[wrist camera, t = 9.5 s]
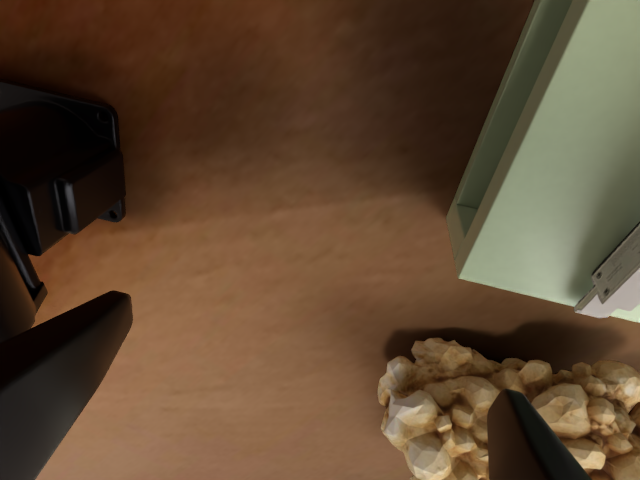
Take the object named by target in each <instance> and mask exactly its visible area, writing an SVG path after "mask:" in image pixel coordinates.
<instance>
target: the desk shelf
mask: <svg viewBox="0 0 640 480" xmlns="http://www.w3.org/2000/svg"><path fill="white" fill-rule="evenodd" d="M446 221H447V226H448V231H449V236H450V241H451V246H452V251H453V256H454V260H455V266H456V271H457V276H458V278H459V279H463V280H467V281H472V282H476V283H480V284H484V285H488V286H492V287H496V288H500V289H504V290H508V291H512V292H516V293H520V294H524V295H528V296H532V297H536V298H540V299H544V300H549V301H553V302H557V303H561V304H565V305H569V306H573V307H575V305H576V304H577V303H578V302H579V301H580V299H581V298H582V297H583V296H584V295H585V294H586V293H587V292H588V291H589V290H590V289H591V288H592V287H593V282H592V279H591V275H592V273H593V272H594V270H595V269H596V268H597V267H598V266H599V265H600V264H601V263H602V262H603V261H604V259H605V258H606V257H607V256H608V255H609V254H610V253H611V252H612V251H613V250H614V249H615V248H616V246H617V245H618V244H619V243H620V242H621V241H622V240H623V239H624V238H625V237H626V236H627V235H628V233H629V232H630V231H631V230H632V229H633V228H634V227H635V226H636V225H637V224H638V223H639V222H640V0H535V1H534V3H533V6H532V8H531V11H530V13H529V16H528V18H527V20H526V23H525V25H524V28H523V30H522V33H521V35H520V38H519V40H518V42H517V45H516V47H515V50H514V52H513V55H512V57H511V60H510V62H509V64H508V67H507V69H506V72H505V74H504V77H503V79H502V81H501V84H500V86H499V89H498V91H497V94H496V96H495V99H494V101H493V103H492V106H491V108H490V111H489V113H488V116H487V118H486V121H485V123H484V125H483V128H482V130H481V133H480V135H479V138H478V140H477V143H476V145H475V147H474V150H473V152H472V155H471V157H470V160H469V162H468V165H467V167H466V169H465V172H464V174H463V177H462V179H461V182H460V184H459V187H458V189H457V191H456V194H455V198H454V199H453V202H452V204H451V206H450V209H449V211H448V214H447V216H446ZM609 316H613V317H617V318H621V319H626V320H630V321H634V322H638V323H640V304H638V305H637V306H636V307H635V308H634V309H633V310H632V311H631V312H630V311H626V310H622V309H618V308H617V309H616V310H615V311H614V312H613V313H612V314H610V315H609Z"/></svg>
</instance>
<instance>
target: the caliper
mask: <svg viewBox="0 0 640 480" xmlns="http://www.w3.org/2000/svg"><path fill="white" fill-rule="evenodd" d="M591 279H592V282H593V287H592V288H591V289H590V290H589V291H588V292H587V293H586V294H585V295H584V296H583V297H582V298H581V299H580V301H579V302H578V303H577V304H576V305H575V307H574V311H575V312H576V313H581V314H585V315H589V316H593V317H597V318H602V317H605V318H607V317H608V316H609V315H610V314H612V313H613V312H614V311H615V310H616V309H617V308H618V309H622V310H626V311H630V312H631V311H632V310H633V309H634V308H635V307H636V306H637V305H638V304H640V222H639V223H638V224H637V225H636V226H635V227H634V228H633V229H632V230H631V231H630V232H629V233H628V235H627V236H626V237H625V238H624V239H623V240H622V241H621V242H620V243H619V244H618V245H617V246H616V248H615V249H614V250H613V251H612V252H611V253H610V254H609V255H608V256H607V257H606V258H605V259H604V261H603V262H602V263H601V264H600V265H599V266H598V267H597V268H596V269H595V270H594V272H593V273H592V275H591Z"/></svg>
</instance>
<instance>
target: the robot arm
mask: <svg viewBox="0 0 640 480" xmlns="http://www.w3.org/2000/svg"><path fill="white" fill-rule="evenodd" d="M103 112H105V113H106V114H107V116H108V119H106V118H105V117H104V115H103ZM125 195H126V191H125V179H124V166H123V155H122V152H121V150H120V139H119V127H118V116H117V113H116V111H115V110H114V108H112V107H111V106H110V105H107V104H103V103H99V102H95V101H91V100H87V99H83V98H78V97H74V96H70V95H66V94H62V93H57V92H53V91H49V90H45V89H41V88H37V87H32V86H28V85H24V84H20V83H16V82H11V81H7V80H3V79H0V480H35V479H36V478H37V476H38V475H39V473H40V472H41V470H42V469H43V467H44V466H45V464H46V463H47V462H48V460H49V459H50V457H51V456H52V454H53V453H54V451H55V450H56V448H57V447H58V445H59V444H60V443H61V441H62V440H63V438H64V437H65V435H66V434H67V432H68V431H69V429H70V428H71V426H72V425H73V424H74V422H75V421H76V419H77V418H78V416H79V415H80V413H81V412H82V410H83V409H84V407H85V406H86V405H87V403H88V402H89V400H90V399H91V397H92V396H93V394H94V393H95V391H96V390H97V388H98V387H99V385H100V383H101V382H102V380H103V378H104V376H105V375H106V373H107V371H108V369H109V367H110V365H111V364H112V362H113V360H114V358H115V356H116V354H117V352H118V350H119V349H120V347H121V345H122V343H123V341H124V339H125V337H126V336H127V334H128V332H129V330H130V328H131V325H132V321H133V315H132V304H131V297H130V295H129V294H126V293H122V292H118V291H110V292H107V293H105V294H103V295H101V296H99V297H97V298H95V299H93V300H90V301H88V302H86V303H84V304H82V305H80V306H78V307H76V308H73V309H71V310H69V311H67V312H65V313H63V314H61V315H59V316H56V317H54V318H52V319H50V320H48V321H46V322H44V323H42V324H39V325H37V326H35V327H33V328H31V327H32V325H33V324H34V322H35V315H36V313H37V311H38V309H39V307H40V306H41V304H42V302H43V300H44V299H45V297H46V295H47V293H48V292H47V289H46V287H45V285H44V283H43V282H40V280H39V278H38V276H37V274H36V271H35V269H34V267H33V265H32V263H31V260H30V258H29V256H28V254H30V255H34V256H40V255H42V254H43V253H44V252H45V251H47V250H48V249H49V248H51V247H52V246H53V245H55V244H56V243H57V242H59V241H60V240H61V239H63V238H64V237H65V236H66V235H68V234H69V233H71V234H77V233H79V232H80V231H81V230H83V229H84V228H85V227H86V226H88V225H89V224H90V223H92V222H93V221H94V220H95V219H97V218H99V219H103V220H107V221H111V222H119V221H121V220H122V219H123V218H124V217H125V214H126V212H125V200H124V197H125ZM113 211H115V212H116V213H117V215H116V214H115V213H114V212H113ZM487 438H488V466H489V480H592V479H591V478H590V476H589V475H588V474H587V473H586V471H585V470H584V469H583V468H582V466H581V465H580V464H579V463H578V461H577V460H576V459H575V458H574V456H573V455H572V454H571V453H570V451H569V450H568V449H567V448H566V446H565V445H564V444H563V443H562V441H561V440H560V439H559V438H558V436H557V435H556V434H555V433H554V431H553V430H552V429H551V428H550V426H549V425H548V424H547V423H546V421H545V420H544V419H543V418H542V416H541V415H540V414H539V413H538V411H537V410H536V409H535V408H534V406H533V405H532V404H531V403H530V401H529V400H528V399H527V398H526V396H525V395H524V394H523V393H521V392H519V391H515V390H511V389H507V388H505V389H502V390H501V391H500V393H499V394H498V396H497V397H496V399H495V400H494V402H493V403H492V405H491V406H490V408H489V410H488V413H487Z"/></svg>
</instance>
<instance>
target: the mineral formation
mask: <svg viewBox="0 0 640 480" xmlns="http://www.w3.org/2000/svg"><path fill="white" fill-rule="evenodd" d="M411 352H412V355H413V357H415V358H416V359H417V360H416V362H415V364H414V363H412V362H411V361H410V360H409V359H407V358H406V357H404V356H398V357H396V358H394V359H393V360H391V361H390V362H388V364H387V371H386V374H385V375H384V376H383V377H382V378H380V381H379V385H378V391H377V394H378V400H379V402H380V404H381V405H383V406H385V407H386V411H385V414H384V417H383V421H382V425H381V430H382V431H383V434H384V435H385V436H386V437H387V438H388V439H389V441H390V442H391V443H392V444H393V446H396V448H397V449H399V450H401V451H402V452H404V455H405V458H406V462H407V465H408V468H409V469H410V471H411V472H412V473H413V474H414V475H413V476H412V477H410V480H489V466H488V438H487V413H488V410H489V408H490V406H491V405H492V403H493V402H494V400H495V399H496V397H497V396H498V394H499V393H500V391H501V390H502V389H505V388H507V389H511V390H515V391H519V392H521V393H523V394H524V395H525V396H526V398H527V399H528V400H529V401H530V403H531V404H532V405H533V406H534V408H535V409H536V410H537V411H538V413H539V414H540V415H541V416H542V418H543V419H544V420H545V421H546V423H547V424H548V425H549V426H550V428H551V429H552V430H553V431H554V433H555V434H556V435H557V436H558V438H559V439H560V440H561V441H562V443H563V444H564V445H565V446H566V448H567V449H568V450H569V451H570V453H571V454H572V455H573V456H574V458H575V459H576V460H577V461H578V463H579V464H580V465H581V466H582V468H583V469H584V470H585V471H586V473H587V474H588V475H589V476H590V478H591V479H592V480H640V374H639V373H638V372H637V371H636V370H635V369H634V368H633V367H631V366H629V365H626V364H623V363H620V362H617V361H610V360H603V361H597V362H596V363H594V364H593V365H592V366H590V365H588V364H586V363H583V362H580V363H577V364H574V365H572V372H571V371H566V370H560V371H559V372H558V374H552V369H551V366H550V364H549V363H546V362H544V361H541V360H530V361H529V362H528V363H526V362H524V361H522V360H520V359H518V358H506V359H504V361H503V362H502V363H501V364H500V363H497V362H495V361H493V360H487V359H486V358H484V356H483V355H481V354H480V353H478V352H477V351H476V350H471V348H469V347H462V346H461V345H459V344H458V343H457V342H456V341H455V340H453V341H450V342H447V341H444V340H443V339H442V338H429V339H427V340H426V341H415V343H414V345H413V347H412V349H411ZM634 404H636V405H635V406H634V407H633V408H632V410H630V412H629V409H630V407H631V406H632V405H634ZM628 412H629V413H628Z"/></svg>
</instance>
